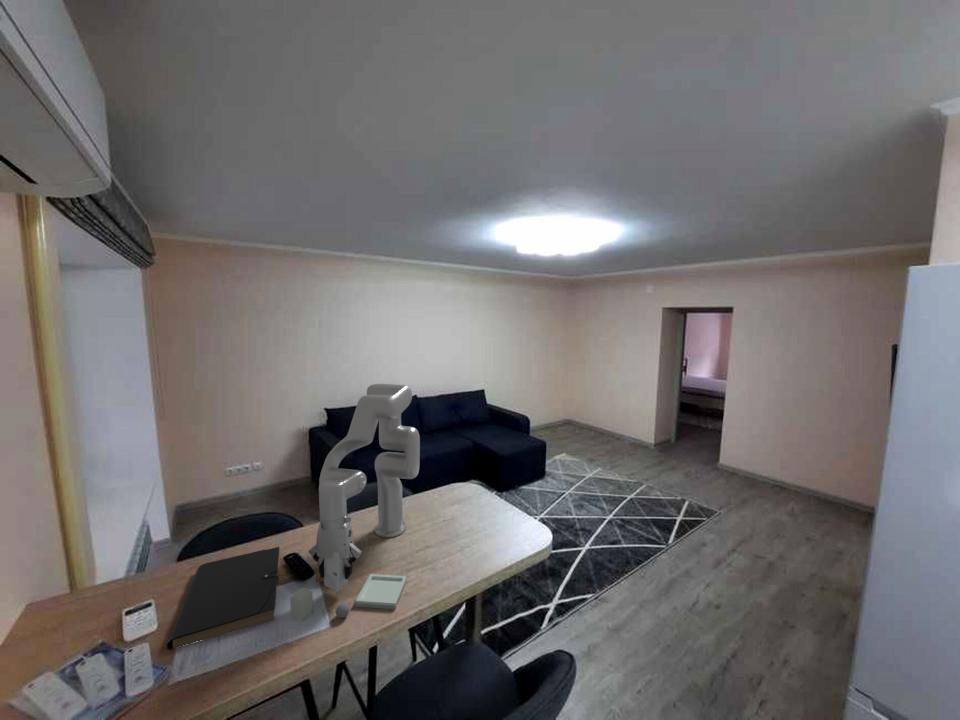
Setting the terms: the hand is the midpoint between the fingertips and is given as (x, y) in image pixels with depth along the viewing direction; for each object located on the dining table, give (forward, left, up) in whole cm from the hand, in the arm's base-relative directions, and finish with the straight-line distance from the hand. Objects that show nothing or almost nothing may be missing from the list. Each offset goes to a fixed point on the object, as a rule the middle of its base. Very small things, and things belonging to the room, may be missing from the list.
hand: (336, 575), depth 115 cm
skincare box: (0, 0, -3) cm, 3 cm away
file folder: (+3, -31, -7) cm, 32 cm away
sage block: (+9, -6, -6) cm, 12 cm away
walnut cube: (-7, -7, -6) cm, 12 cm away
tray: (-1, +14, -6) cm, 15 cm away
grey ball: (+9, +6, -6) cm, 12 cm away
